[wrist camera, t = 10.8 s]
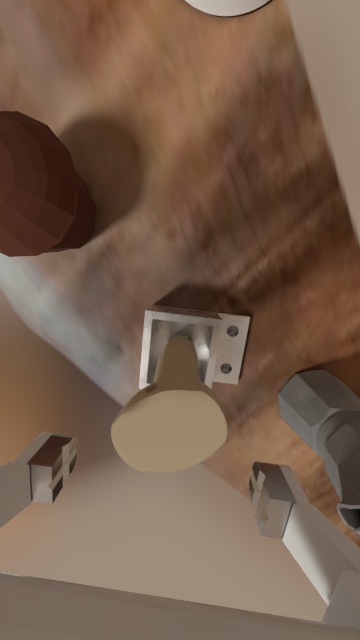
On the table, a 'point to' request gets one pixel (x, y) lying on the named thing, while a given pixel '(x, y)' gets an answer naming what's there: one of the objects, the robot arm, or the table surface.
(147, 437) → the handle
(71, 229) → the muffin
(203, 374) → the flanged open box
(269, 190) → the table surface
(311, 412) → the coffeepot
